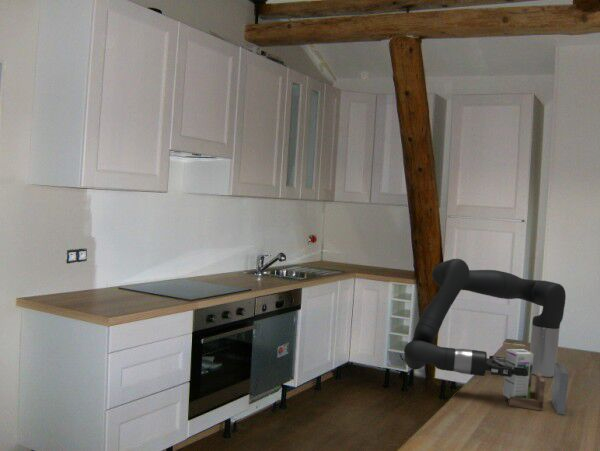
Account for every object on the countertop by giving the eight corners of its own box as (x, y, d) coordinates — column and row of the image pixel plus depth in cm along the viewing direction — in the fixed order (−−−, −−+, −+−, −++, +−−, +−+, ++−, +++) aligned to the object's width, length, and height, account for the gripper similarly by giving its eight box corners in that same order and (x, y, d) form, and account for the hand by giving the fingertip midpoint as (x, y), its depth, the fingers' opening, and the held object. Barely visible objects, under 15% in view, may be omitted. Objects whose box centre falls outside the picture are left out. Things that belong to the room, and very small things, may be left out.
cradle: (506, 395, 200) (509, 368, 199) (538, 400, 197) (540, 372, 197) (509, 405, 189) (511, 377, 189) (542, 410, 187) (545, 381, 187)
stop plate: (551, 401, 197) (554, 363, 197) (558, 402, 197) (561, 363, 196) (557, 413, 186) (561, 372, 185) (564, 414, 185) (568, 373, 185)
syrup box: (513, 401, 190) (517, 353, 190) (501, 394, 196) (506, 347, 195) (529, 401, 192) (534, 353, 191) (518, 394, 198) (522, 348, 197)
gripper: (471, 355, 190) (529, 362, 186) (470, 344, 204) (524, 351, 200) (469, 380, 190) (527, 388, 186) (468, 368, 204) (522, 375, 200)
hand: (525, 369), depth 193 cm, fingers closed on syrup box, 7 cm apart
